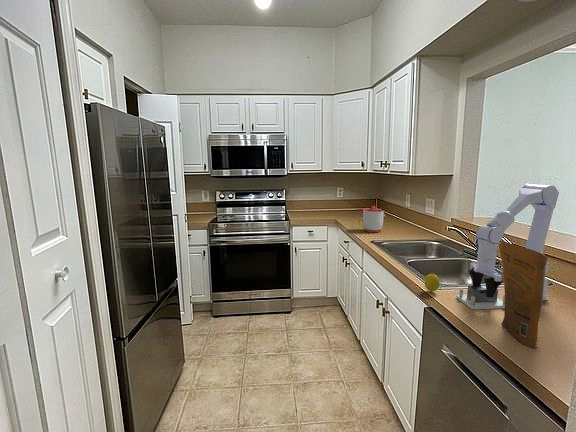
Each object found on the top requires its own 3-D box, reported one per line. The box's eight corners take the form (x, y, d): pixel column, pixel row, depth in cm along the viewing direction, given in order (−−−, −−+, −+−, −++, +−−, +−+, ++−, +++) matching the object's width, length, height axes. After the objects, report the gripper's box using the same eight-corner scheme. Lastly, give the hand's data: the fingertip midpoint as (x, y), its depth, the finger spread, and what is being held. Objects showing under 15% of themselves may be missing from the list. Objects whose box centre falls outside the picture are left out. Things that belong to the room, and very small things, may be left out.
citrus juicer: (388, 233, 237) (389, 206, 234) (365, 233, 237) (366, 207, 233) (381, 229, 253) (382, 204, 249) (359, 229, 252) (360, 204, 249)
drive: (489, 297, 123) (490, 285, 122) (496, 302, 119) (498, 289, 118) (466, 298, 122) (467, 285, 121) (473, 302, 118) (474, 289, 117)
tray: (490, 296, 126) (491, 287, 125) (509, 308, 116) (510, 297, 115) (456, 297, 125) (457, 287, 124) (472, 309, 115) (473, 298, 115)
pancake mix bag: (522, 351, 90) (534, 254, 85) (488, 318, 108) (497, 238, 104) (548, 352, 89) (562, 255, 84) (509, 319, 108) (519, 238, 103)
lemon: (426, 288, 134) (427, 270, 133) (440, 291, 131) (441, 272, 130) (422, 292, 130) (423, 273, 129) (436, 295, 127) (438, 276, 125)
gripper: (464, 252, 125) (461, 285, 127) (489, 264, 110) (485, 301, 113) (481, 252, 125) (478, 285, 127) (509, 263, 111) (504, 300, 113)
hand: (482, 292), depth 120 cm, fingers open, 7 cm apart
